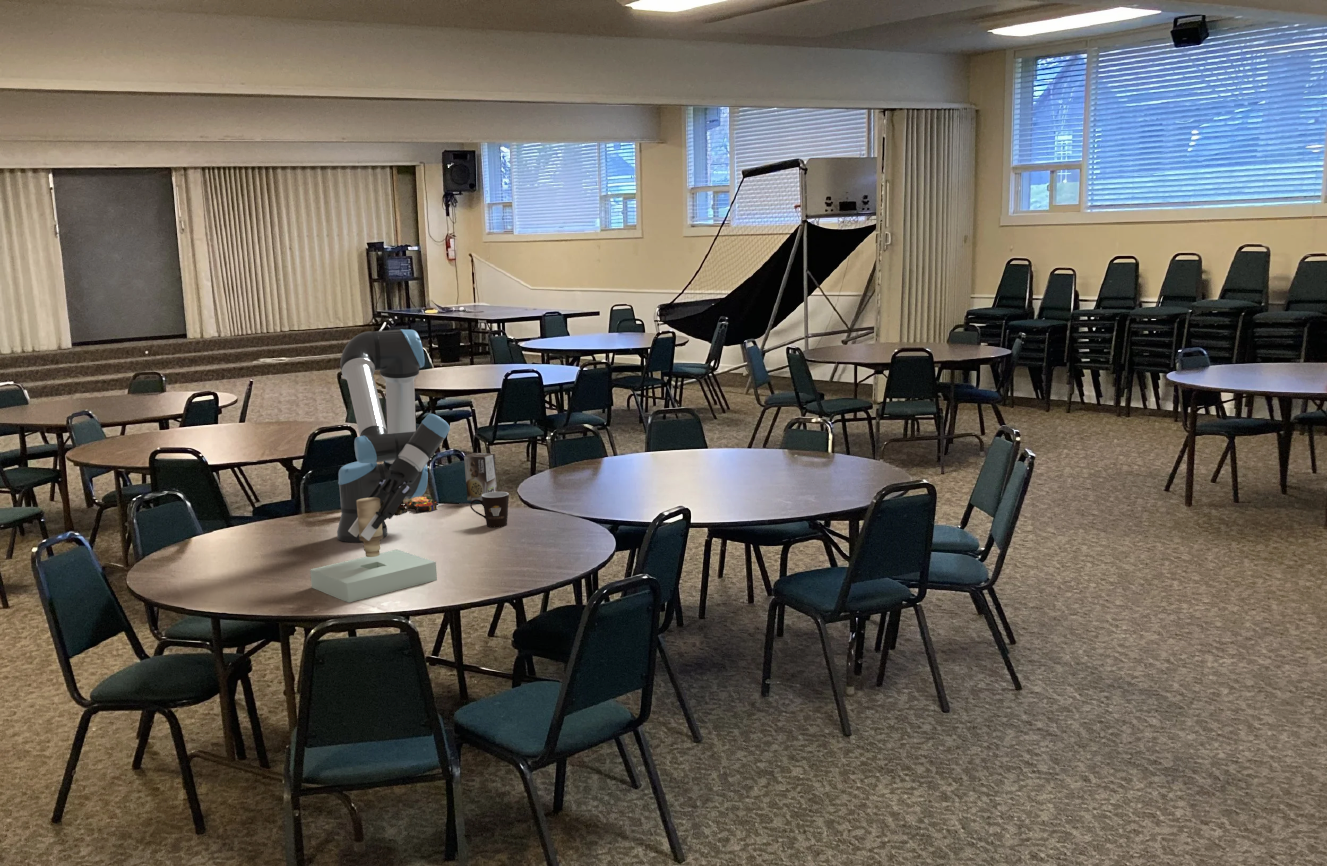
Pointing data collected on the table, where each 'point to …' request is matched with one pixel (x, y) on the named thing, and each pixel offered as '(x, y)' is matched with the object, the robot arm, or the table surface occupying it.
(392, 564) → the sage board
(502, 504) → the coffee mug
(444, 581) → the table surface
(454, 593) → the table surface
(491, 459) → the printed box
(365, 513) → the beech peg
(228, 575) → the table surface
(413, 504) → the food
